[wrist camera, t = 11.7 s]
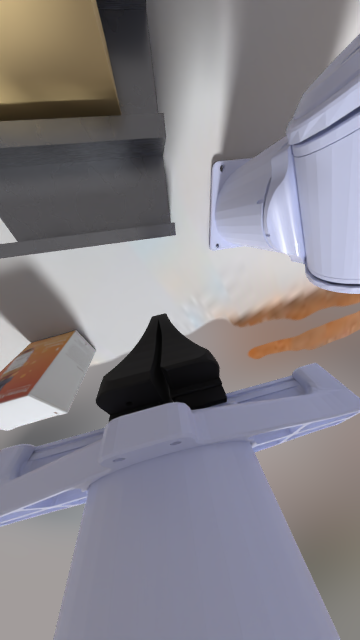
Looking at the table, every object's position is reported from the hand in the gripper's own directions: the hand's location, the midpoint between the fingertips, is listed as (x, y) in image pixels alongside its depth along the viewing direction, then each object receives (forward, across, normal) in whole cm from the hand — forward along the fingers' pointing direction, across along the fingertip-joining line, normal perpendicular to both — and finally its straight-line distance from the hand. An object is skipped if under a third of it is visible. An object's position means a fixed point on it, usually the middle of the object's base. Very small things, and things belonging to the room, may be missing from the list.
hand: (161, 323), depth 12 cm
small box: (+10, +18, +7) cm, 22 cm away
